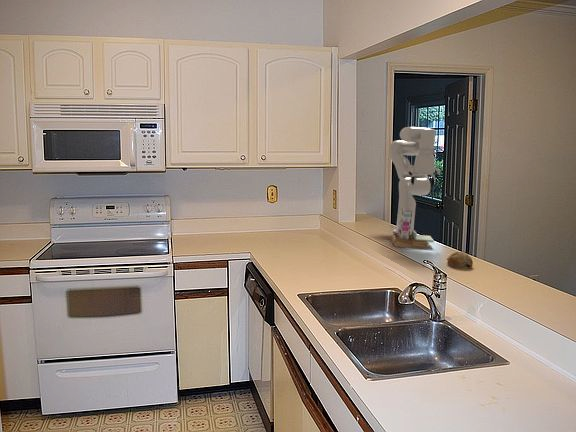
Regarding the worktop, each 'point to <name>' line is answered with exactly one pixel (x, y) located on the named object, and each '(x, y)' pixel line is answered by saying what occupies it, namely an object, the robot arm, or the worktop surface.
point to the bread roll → (460, 260)
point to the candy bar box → (404, 223)
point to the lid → (421, 237)
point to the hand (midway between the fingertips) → (422, 185)
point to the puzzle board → (409, 242)
